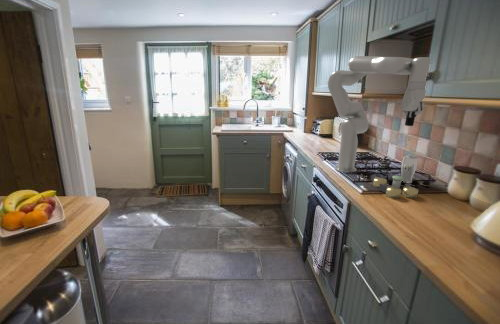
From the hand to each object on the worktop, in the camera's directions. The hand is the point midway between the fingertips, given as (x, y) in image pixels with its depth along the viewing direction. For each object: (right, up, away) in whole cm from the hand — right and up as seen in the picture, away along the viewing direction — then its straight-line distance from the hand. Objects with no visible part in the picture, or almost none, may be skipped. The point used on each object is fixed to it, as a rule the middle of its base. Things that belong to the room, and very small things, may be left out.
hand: (408, 125), depth 127 cm
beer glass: (+7, -29, +15) cm, 34 cm away
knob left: (-11, -29, +9) cm, 32 cm away
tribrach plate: (-7, -33, +1) cm, 34 cm away
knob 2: (-2, -33, -2) cm, 33 cm away
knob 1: (-11, -33, -3) cm, 35 cm away
